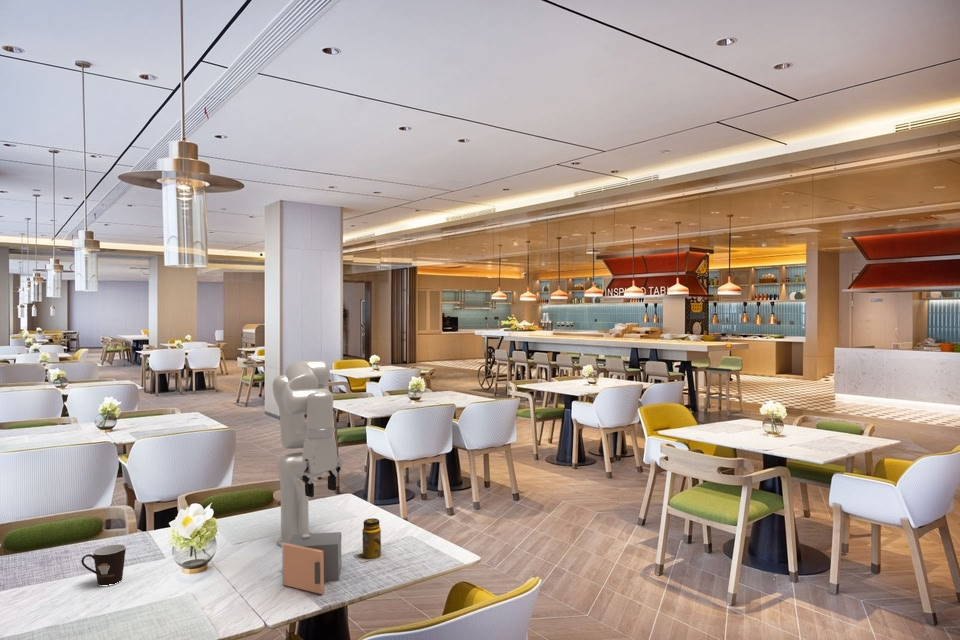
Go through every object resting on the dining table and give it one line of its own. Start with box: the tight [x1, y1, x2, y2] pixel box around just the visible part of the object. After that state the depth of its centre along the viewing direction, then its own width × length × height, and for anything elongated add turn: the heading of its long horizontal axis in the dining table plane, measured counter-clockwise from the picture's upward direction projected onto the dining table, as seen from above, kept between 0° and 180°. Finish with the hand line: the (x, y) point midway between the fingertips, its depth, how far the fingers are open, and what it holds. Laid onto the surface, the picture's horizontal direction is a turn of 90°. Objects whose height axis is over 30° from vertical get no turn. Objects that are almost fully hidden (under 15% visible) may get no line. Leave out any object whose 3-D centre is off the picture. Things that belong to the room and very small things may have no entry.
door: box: [281, 543, 325, 595], centre depth 181 cm, size 2×15×12 cm, turn 63°
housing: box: [289, 531, 343, 582], centre depth 192 cm, size 11×15×12 cm
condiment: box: [353, 517, 386, 563], centre depth 207 cm, size 7×8×12 cm
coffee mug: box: [81, 544, 127, 585], centre depth 189 cm, size 12×9×10 cm
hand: (321, 492), depth 183 cm, fingers open, 7 cm apart
